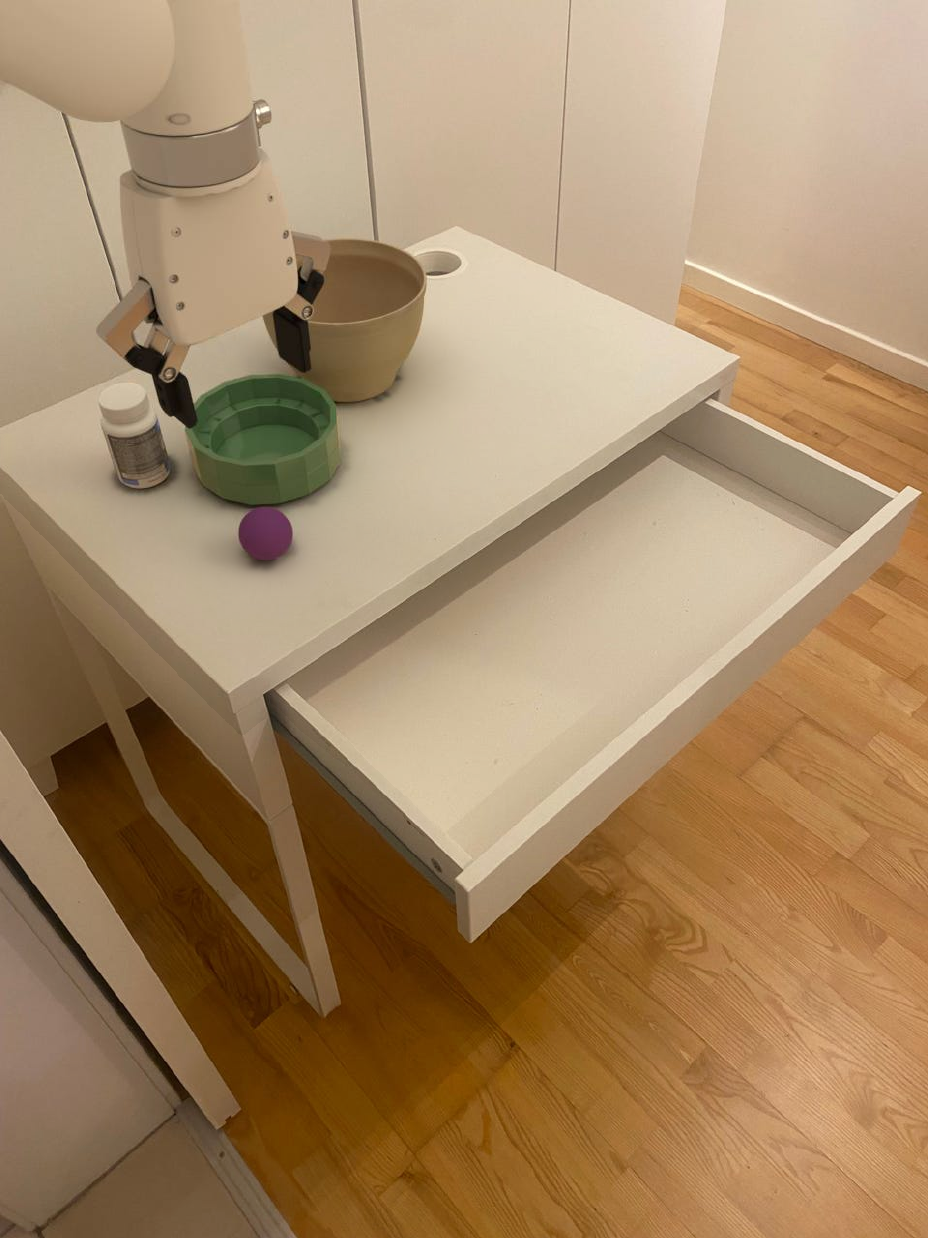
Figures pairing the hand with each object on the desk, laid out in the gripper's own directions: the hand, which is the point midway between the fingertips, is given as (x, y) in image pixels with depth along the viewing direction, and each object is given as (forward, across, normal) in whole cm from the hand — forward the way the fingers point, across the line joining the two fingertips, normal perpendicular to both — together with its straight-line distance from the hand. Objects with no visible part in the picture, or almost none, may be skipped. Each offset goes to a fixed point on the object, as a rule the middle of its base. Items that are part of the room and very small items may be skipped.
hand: (240, 390), depth 69 cm
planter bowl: (+16, -21, -16) cm, 31 cm away
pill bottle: (+16, +3, -16) cm, 23 cm away
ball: (+14, 0, 0) cm, 14 cm away
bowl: (+16, -7, -10) cm, 20 cm away
